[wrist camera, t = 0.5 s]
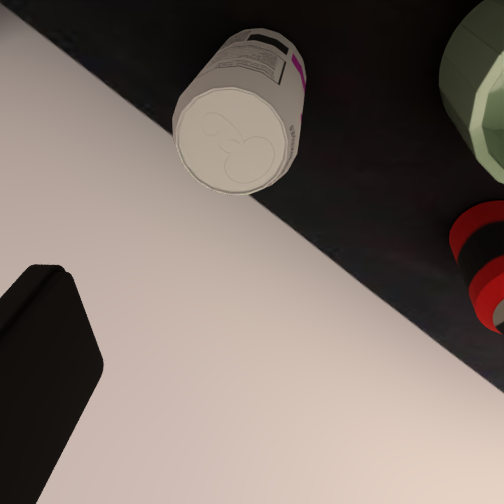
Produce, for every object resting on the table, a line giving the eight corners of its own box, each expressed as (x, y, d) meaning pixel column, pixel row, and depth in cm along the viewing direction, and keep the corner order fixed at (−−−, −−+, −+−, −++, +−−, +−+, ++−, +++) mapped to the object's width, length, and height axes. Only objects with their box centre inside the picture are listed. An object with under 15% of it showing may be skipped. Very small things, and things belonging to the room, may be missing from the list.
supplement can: (326, 78, 39) (326, 147, 27) (259, 140, 43) (234, 225, 31) (259, 3, 37) (226, 42, 25) (194, 77, 41) (140, 142, 29)
